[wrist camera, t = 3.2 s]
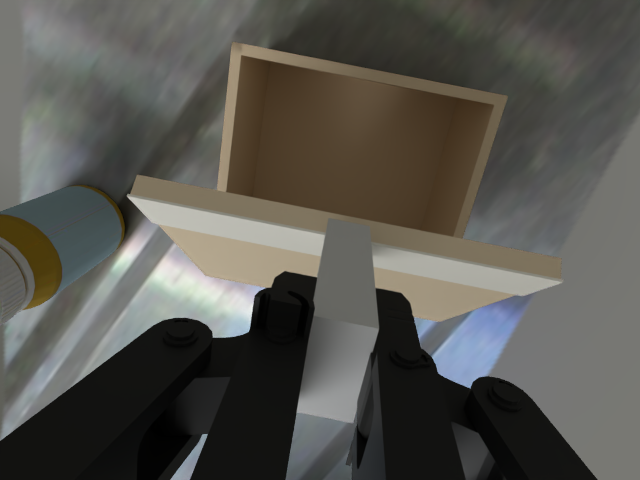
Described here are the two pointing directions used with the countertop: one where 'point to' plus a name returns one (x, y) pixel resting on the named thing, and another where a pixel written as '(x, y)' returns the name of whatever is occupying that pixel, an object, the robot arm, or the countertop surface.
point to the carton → (355, 140)
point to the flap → (307, 242)
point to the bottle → (54, 244)
